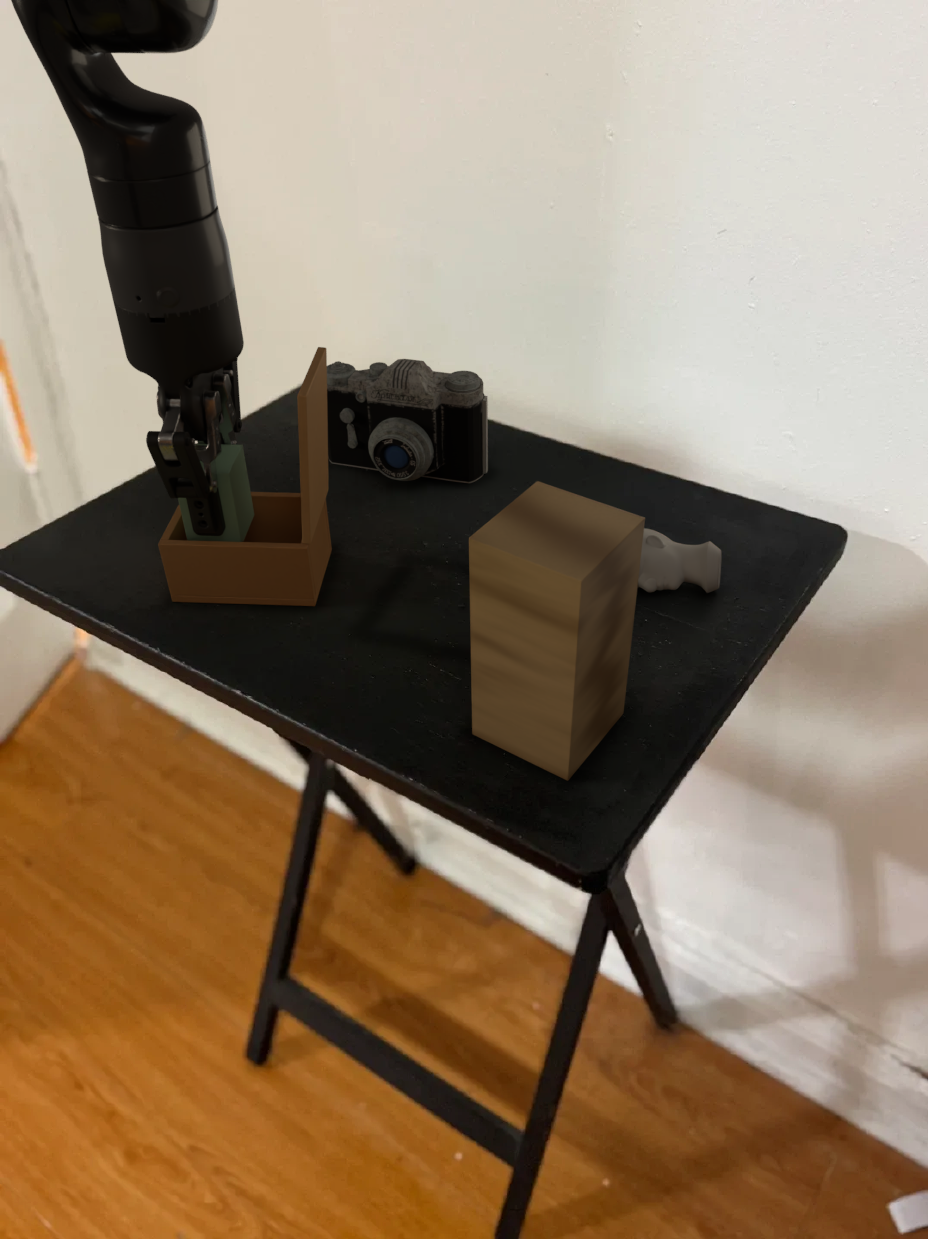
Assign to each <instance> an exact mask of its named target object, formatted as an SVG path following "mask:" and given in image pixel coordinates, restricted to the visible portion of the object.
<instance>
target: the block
mask: <svg viewBox="0 0 928 1239" xmlns="http://www.w3.org/2000/svg"><path fill="white" fill-rule="evenodd" d="M195 445H208V444H198V443H195ZM221 449H222V451H221V454H220V455H219V456H218V457H217V458H216V459H215V461H216V471H217V481H218V490H219V495H220V500H221V505H222V510H223V515H224V521H225V526H226V527H225V530H224V532H223V534H222V535H221V536H200V535H197V534H196V533H194V531H193V528H192V523H191V518H190V514H189V509H188V505H187V500H186V498H177V500H178V505H180V510H181V514H182V518H183V523H184V527H185V532H186V536H187V541H224V542H243V541H244V539H245V536H246V534H247V532H248V529H249V527H250V524H251V522H252V520H253V517H254V509H253V503H252V497H251V492H252V491H251V486H250V481H249V475H248V469H247V464H246V462H247V461H246V457H245V452H244V446H243V444H237V445H232V444H221ZM200 463H201V466H202V468H203V471H204V465H203V462H202V461H200Z"/></svg>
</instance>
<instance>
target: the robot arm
mask: <svg viewBox="0 0 928 1239" xmlns="http://www.w3.org/2000/svg"><path fill="white" fill-rule="evenodd" d="M10 1H11V4H12V7H13V9H14V12H15V14H16V16H17V17H18V20H19V22H20V25H21V26H22V29H23V31H24V33H25V35H26V37H27V39H28V41H29V43H30V45H31V46H32V48H33V51H34V52H35V55H36V56H37V58H38V60H39V61H40V64H41V65H42V67H43V69H44V71H45V72H46V75H47V77H48V79H49V81H50V83H51V85H52V87H53V89H54V91H55V93H56V95H57V98H58V100H59V102H60V104H61V107H62V108H63V110H64V113H65V114H66V116H67V119H68V121H69V123H70V126H71V127H72V129H73V132H74V134H75V135H76V136H75V137H76V139H77V140H78V143H79V145H80V148H81V151H82V155H83V159H84V163H85V167H86V174H87V177H88V181H89V185H90V190H91V193H92V199H93V203H94V206H95V211H96V215H97V219H98V225H99V231H100V242H101V253H102V258H103V263H104V268H105V271H106V276H107V280H108V285H109V289H110V293H111V297H112V303H113V306H114V310H115V314H116V319H117V323H118V328H119V331H120V335H121V339H122V340H121V341H122V344H123V348H124V353H125V356H126V357H125V358H126V360H127V361H128V363H129V365H130V366H132V368H134V369H135V370H136V371H138V372H140V373H143V374H145V375H147V376H149V377H150V378H152V379H153V380H154V381H155V382H156V383H157V392H156V406H157V414H158V416H159V418H161V420H162V425H161V429H160V430H148V431H147V434H146V438H145V442H146V447H147V450H148V452H149V454H150V456H151V459H152V461H153V463H154V465H155V467H156V469H157V472H158V474H159V476H160V479H161V481H162V484H163V486H164V488H165V490H166V492H167V495H168V497H169V498H170V499H178V498H186V500H187V505H188V509H189V514H190V518H191V523H192V528H193V531H194V533H196V534H197V535H200V536H221V535H222V534H223V532H224V530H225V527H226V526H225V521H224V515H223V510H222V505H221V500H220V495H219V490H218V481H217V471H216V461H215V459H216V458H217V457H218V456H219V455H220V454H221V451H222V449H221V444H232V445H238V441H237V437H236V434H238V433H241V430H242V427H243V422H242V413H241V400H240V399H241V398H240V397H241V396H240V384H239V367H238V361H239V360H238V358H239V357H240V355H241V354H242V352H243V350H244V345H245V343H244V342H245V341H244V336H243V330H242V324H241V322H242V321H241V318H240V311H239V304H238V298H237V297H238V296H237V290H236V285H235V279H234V273H233V272H234V271H233V266H232V260H231V254H230V247H229V243H228V239H227V235H226V232H225V229H224V228H225V227H224V225H223V222H222V218H221V215H220V209H219V205H218V201H217V200H218V199H217V194H216V188H215V183H214V182H215V181H214V176H213V170H212V163H211V156H210V155H211V153H210V149H209V143H208V138H207V132H206V129H205V124H204V121H203V118H202V116H201V115H200V113H199V111H198V110H197V109H196V108H195V107H194V106H193V105H191V104H190V103H188V102H186V101H184V100H182V99H179V98H176V97H174V96H170V95H166V94H161V93H159V92H155V91H151V90H148V89H146V88H144V87H141V86H139V85H138V84H135V82H132V81H131V80H130V79H129V78H128V77H127V75H126V74H125V72H124V71H123V70H122V68H121V66H120V65H119V64H118V62H117V60H116V59H115V57H114V55H113V54H178V53H184V52H187V51H189V50H192V49H194V48H195V47H198V45H199V44H201V43H202V42H203V41H204V40H205V39H206V37H207V36H208V34H209V33H210V31H211V29H212V27H213V25H214V22H215V19H216V16H217V12H218V5H219V0H10ZM235 433H236V434H235ZM196 442H197V444H208V445H195V444H196ZM200 461H202V462H203V465H204V471H203V468H202V466H201V463H200Z"/></svg>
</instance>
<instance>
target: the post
mask: <svg viewBox="0 0 928 1239" xmlns="http://www.w3.org/2000/svg"><path fill="white" fill-rule="evenodd" d="M645 521H646V517H644V516H641V515H638V514H636V513H632V512H630V511H626V510H624V509H620V508H619V507H618V508H617V507H615V506H612V505H609V504H606V503H603V502H600V501H597V500H594V499H591V498H589V497H585V496H582V495H580V494H576V493H574V492H571V491H568V490H565V489H562V488H559V487H556V486H553V485H550V484H547V483H545V482H542V481H539V480H536V481H535V482H534V483H533V484H532V485H531V486H529V487H528V488H527V489H526V490H524V491H523V492H522V493H520V495H519V496H518V497H516V498H515V499H514V500H512V502H510V503H508V505H507V506H506V507H504V508H503V509H501V511H499V512H498V513H497V514H496V515H495V516H493V517H492V518H491V519H490V520H488V522H486V523H485V524H484V525H482V526H481V527H480V528H479V529H477V530H476V531H475V532H474V533H473V534H471V536H469V537H468V563H469V564H468V566H469V567H468V568H469V570H468V571H469V573H468V574H469V575H468V576H469V622H470V624H469V626H470V629H469V630H470V677H471V678H470V679H471V682H470V683H471V684H470V685H471V688H470V689H471V728H472V729H471V734H472V735H473V736H475V737H477V738H479V739H481V740H483V741H485V742H487V743H489V744H492V745H493V746H495V747H497V748H500V749H501V750H504V751H506V752H508V753H510V754H512V755H513V756H516V757H518V758H520V759H522V760H524V761H526V762H528V763H530V764H532V765H534V766H536V767H539V768H541V769H542V770H544V771H547V772H548V773H551V774H553V775H555V776H557V777H559V778H561V779H563V780H565V781H566V782H568V781H569V780H570V779H571V778H572V777H573V775H574V774H575V773H576V772H577V771H578V769H580V767H581V766H582V764H583V763H584V762H585V761H586V760H587V758H588V757H589V756H590V755H591V754H592V752H593V751H594V750H595V749H596V747H597V746H598V745H599V744H600V743H601V741H602V740H603V739H604V738H605V737H606V735H607V734H608V733H609V732H610V730H611V729H612V728H613V727H614V725H615V724H616V723H617V722H618V721H619V719H621V717H622V716H623V715H624V711H625V703H626V696H627V695H626V693H627V684H628V675H629V666H630V657H631V650H632V648H631V647H632V642H633V641H632V639H633V632H634V631H633V630H634V624H635V623H634V621H635V613H636V612H635V611H636V604H637V595H638V588H639V587H638V578H639V569H640V560H641V551H642V542H643V533H644V528H645ZM637 587H638V588H637Z"/></svg>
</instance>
